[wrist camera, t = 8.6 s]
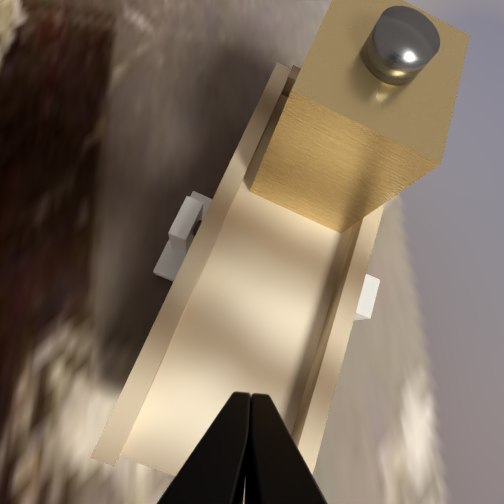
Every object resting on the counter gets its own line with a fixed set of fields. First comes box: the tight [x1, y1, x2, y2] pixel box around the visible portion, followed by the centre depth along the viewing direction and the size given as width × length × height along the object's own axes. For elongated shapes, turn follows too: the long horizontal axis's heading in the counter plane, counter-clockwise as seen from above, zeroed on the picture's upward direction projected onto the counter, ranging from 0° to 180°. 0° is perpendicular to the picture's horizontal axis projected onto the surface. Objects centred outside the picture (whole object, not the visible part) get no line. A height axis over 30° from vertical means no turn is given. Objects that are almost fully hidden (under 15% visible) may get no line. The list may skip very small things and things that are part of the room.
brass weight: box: [250, 0, 470, 234], centre depth 16 cm, size 7×6×9 cm
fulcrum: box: [153, 191, 380, 320], centre depth 20 cm, size 6×13×4 cm, turn 69°
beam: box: [91, 62, 385, 501], centre depth 18 cm, size 23×10×3 cm, turn 159°
